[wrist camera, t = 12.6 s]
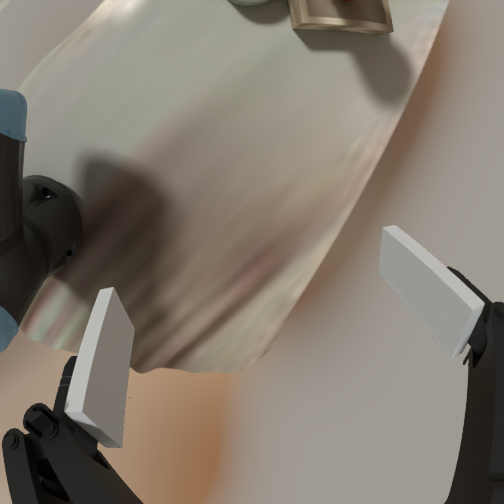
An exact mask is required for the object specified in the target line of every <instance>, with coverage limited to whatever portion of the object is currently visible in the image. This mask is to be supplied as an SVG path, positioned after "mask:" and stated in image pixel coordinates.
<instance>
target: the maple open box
mask: <svg viewBox="0 0 504 504" xmlns="http://www.w3.org/2000/svg"><path fill="white" fill-rule="evenodd" d="M287 2H288V7H289V12H290V18H291V24H292V29H315V30H336V31H350V32H360V33H368V34H376V35H380V34H385V33H390V32H394V31H393V25H392V19H391V14H390V8H389V4H388V0H354V1H343V0H287Z"/></svg>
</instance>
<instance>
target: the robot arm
mask: <svg viewBox="0 0 504 504" xmlns="http://www.w3.org/2000/svg"><path fill="white" fill-rule="evenodd" d="M26 117H27V102H26V99H25V97H24V96H23V95H22V94H21V93H19V92H17V91H13V90H6V89H0V353H1V352H3V351H5V350H6V348H7V347H8V345H9V343H10V342H11V340H12V339H13V337H14V336H15V335H16V334H17V332H18V327H19V325H20V323H21V321H22V320H23V318H24V316H25V314H26V312H27V310H28V308H29V307H30V305H31V303H32V301H33V300H34V298H35V296H36V294H37V293H38V291H39V289H40V288H41V286H42V284H43V282H44V281H45V279H47V278H48V277H50V276H52V275H53V274H55V273H57V272H58V271H60V270H62V269H63V268H64V267H66V266H67V265H68V264H69V263H70V261H71V260H72V258H73V257H74V255H75V254H76V252H77V250H78V248H79V246H80V243H81V238H82V221H81V216H80V213H79V210H78V207H77V205H76V203H75V201H74V200H73V198H72V196H71V195H70V194H69V192H68V191H67V190H66V189H65V188H64V187H63V186H62V185H61V184H59V183H58V182H56V181H55V180H53V179H51V178H48V177H45V176H40V175H32V176H28V177H25V178H23V163H24V149H25V143H26V142H27V137H26V136H25V129H26ZM378 273H379V274H380V275H381V277H382V278H383V279H384V280H385V281H386V282H387V283H388V284H389V286H390V287H391V288H392V289H393V290H394V291H395V292H396V293H397V295H398V296H399V297H400V298H401V299H402V300H403V302H404V303H405V304H406V305H407V306H408V307H409V309H410V310H411V311H412V312H413V313H414V314H415V316H416V317H417V318H418V319H419V321H420V322H421V323H422V324H423V325H424V327H425V328H426V329H427V330H428V332H429V333H430V334H431V335H432V337H433V338H434V339H435V340H436V342H437V343H438V344H439V345H440V347H441V348H442V349H443V351H444V352H445V353H446V355H447V356H448V357H449V358H450V359H452V358H454V357H455V356H457V355H459V354H461V353H462V352H463V350H464V348H465V346H466V344H467V343H468V344H469V345H470V346H471V348H470V350H469V352H468V354H467V356H466V357H465V359H464V361H463V365H465V364H466V362H467V360H468V359H469V364H468V366H469V368H468V369H469V370H468V388H467V402H466V411H465V419H464V427H463V433H462V440H461V445H460V451H459V456H458V461H457V465H456V470H455V474H454V478H453V482H452V486H451V489H450V493H449V496H448V498H447V500H446V502H445V503H444V504H504V303H502V302H494V303H492V302H491V301H490V300H489V299H488V298H487V297H486V296H485V295H484V294H483V293H482V292H480V290H478V289H477V288H476V287H475V286H474V285H473V284H471V282H470V281H469V280H468V279H466V278H465V277H464V276H463V275H462V274H461V273H460V272H459V271H457V270H455V269H453V268H451V267H449V266H448V267H445V266H444V265H443V264H442V263H441V262H440V261H438V260H437V259H436V258H435V257H434V256H433V255H431V254H430V253H429V252H428V251H426V250H425V249H424V248H423V247H422V246H420V245H419V244H418V243H417V242H416V241H414V240H413V239H412V238H411V237H409V236H408V235H407V234H405V233H404V232H403V231H402V230H401V229H399V228H398V227H397V226H395V225H392V226H387V227H383V230H382V241H381V252H380V262H379V270H378ZM134 333H135V328H134V326H133V324H132V322H131V321H130V319H129V317H128V315H127V313H126V311H125V309H124V307H123V305H122V303H121V301H120V299H119V297H118V295H117V292H116V290H115V288H114V287H110V288H105V289H101V290H100V291H99V293H98V296H97V299H96V302H95V304H94V307H93V310H92V313H91V316H90V319H89V322H88V325H87V328H86V331H85V334H84V337H83V340H82V343H81V347H80V350H79V353H78V356H71V357H70V359H69V360H68V362H67V363H66V365H65V367H64V370H63V374H62V378H61V381H60V386H59V388H58V392H57V396H56V400H55V404H54V408H53V411H52V410H50V409H49V408H48V407H47V406H46V405H45V404H42V403H36V404H34V405H32V406H31V407H30V408H29V409H28V410H27V411H26V413H25V415H24V419H23V426H24V428H25V429H26V430H27V431H28V432H30V433H29V434H26V435H25V434H24V433H23V432H21V431H20V430H19V429H16V428H13V429H10V430H9V431H7V433H6V434H5V435H4V437H3V441H2V449H3V457H4V464H5V470H6V476H7V481H8V486H9V491H10V495H11V499H12V503H13V504H143V503H142V502H141V500H140V499H139V498H138V497H137V496H136V495H135V494H134V493H133V492H132V491H131V489H130V488H129V487H128V486H127V485H126V484H125V482H124V481H123V480H122V479H121V478H120V476H119V475H118V474H117V473H116V471H115V470H114V469H113V468H112V466H111V465H110V464H109V462H108V461H107V460H106V459H105V457H104V456H103V454H102V453H101V452H100V451H99V450H98V449H97V444H98V442H99V443H100V444H102V445H103V446H104V447H107V448H109V447H110V448H111V447H113V448H120V447H121V448H122V447H123V430H124V416H125V403H126V393H127V385H128V376H129V368H130V360H131V353H132V346H133V339H134Z"/></svg>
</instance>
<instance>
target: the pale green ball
mask: <svg viewBox="0 0 504 504" xmlns="http://www.w3.org/2000/svg"><path fill="white" fill-rule="evenodd" d="M229 1H230V2H232V3H235V4H238V5H242V6H256V5H260V4H263V3H265V2H267V1H269V0H229Z"/></svg>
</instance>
